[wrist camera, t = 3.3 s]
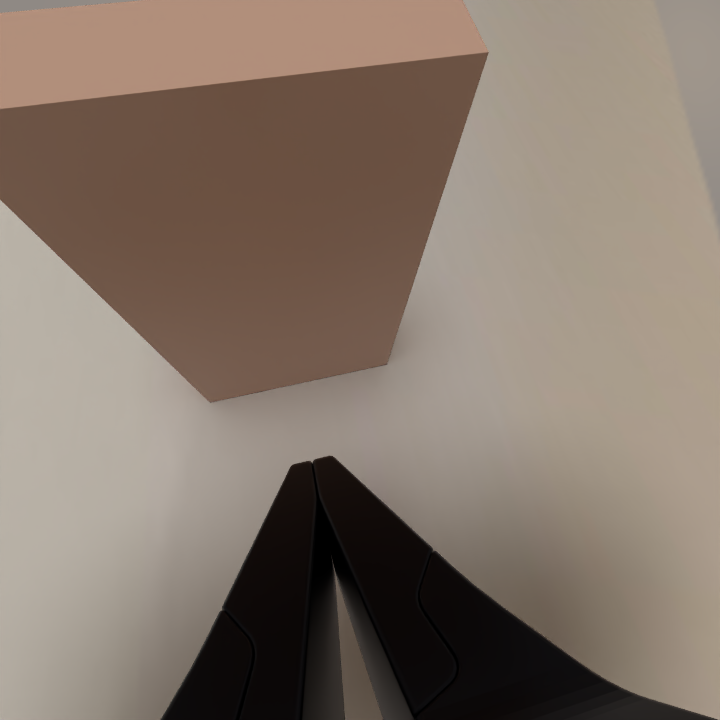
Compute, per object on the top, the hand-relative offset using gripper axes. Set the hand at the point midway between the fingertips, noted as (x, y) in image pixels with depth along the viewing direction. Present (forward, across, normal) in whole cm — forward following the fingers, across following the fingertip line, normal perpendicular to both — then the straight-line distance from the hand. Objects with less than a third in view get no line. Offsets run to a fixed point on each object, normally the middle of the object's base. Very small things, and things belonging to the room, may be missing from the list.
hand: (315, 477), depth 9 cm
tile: (+11, 0, +2) cm, 11 cm away
